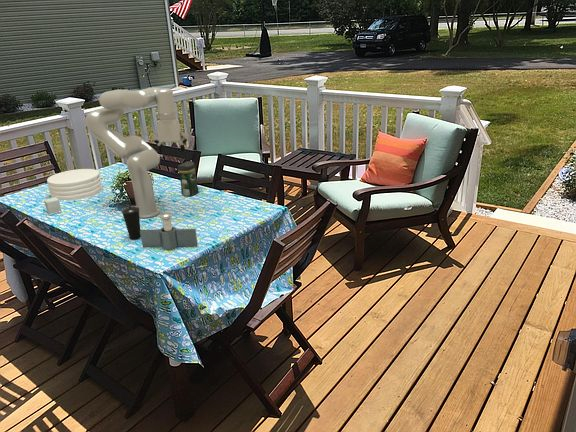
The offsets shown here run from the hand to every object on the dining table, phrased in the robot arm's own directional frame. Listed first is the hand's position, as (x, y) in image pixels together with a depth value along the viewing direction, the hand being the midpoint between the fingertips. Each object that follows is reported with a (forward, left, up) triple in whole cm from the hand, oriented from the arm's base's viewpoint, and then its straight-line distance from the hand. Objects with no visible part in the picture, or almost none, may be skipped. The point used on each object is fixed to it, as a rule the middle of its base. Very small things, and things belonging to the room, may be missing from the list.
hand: (172, 153), depth 221 cm
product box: (-72, +13, -34) cm, 81 cm away
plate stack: (-73, +42, -34) cm, 91 cm away
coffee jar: (-5, +37, -34) cm, 50 cm away
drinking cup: (-16, -21, -34) cm, 43 cm away
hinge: (+3, -31, -33) cm, 46 cm away
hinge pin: (+3, -31, -33) cm, 46 cm away
